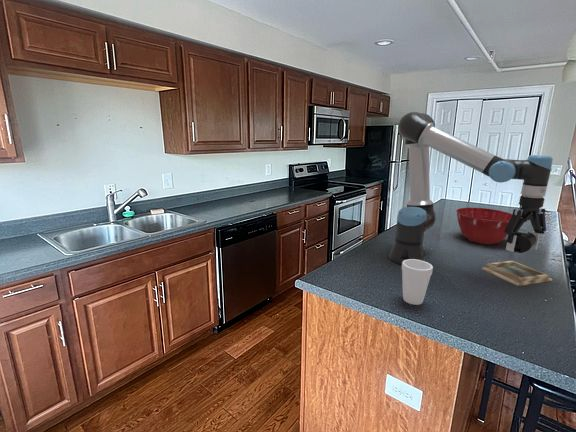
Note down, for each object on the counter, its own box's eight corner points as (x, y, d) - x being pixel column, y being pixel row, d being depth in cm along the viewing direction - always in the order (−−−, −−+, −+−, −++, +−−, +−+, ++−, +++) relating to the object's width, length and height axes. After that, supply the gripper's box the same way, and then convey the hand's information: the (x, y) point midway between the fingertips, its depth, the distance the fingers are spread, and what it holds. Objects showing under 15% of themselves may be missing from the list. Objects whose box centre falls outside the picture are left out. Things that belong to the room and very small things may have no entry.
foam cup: (420, 293, 113) (425, 259, 110) (432, 307, 104) (438, 270, 101) (394, 293, 112) (398, 259, 109) (404, 307, 104) (408, 270, 100)
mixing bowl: (508, 254, 153) (515, 223, 150) (445, 240, 171) (450, 213, 168) (515, 240, 174) (521, 213, 170) (459, 229, 192) (463, 205, 188)
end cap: (529, 255, 121) (532, 238, 120) (507, 250, 126) (510, 234, 125) (534, 249, 128) (537, 233, 126) (513, 245, 133) (516, 229, 131)
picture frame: (517, 286, 120) (518, 280, 119) (481, 269, 135) (482, 263, 134) (552, 280, 125) (553, 275, 124) (513, 265, 140) (515, 259, 139)
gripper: (518, 199, 115) (507, 255, 120) (565, 196, 122) (553, 250, 127) (499, 195, 122) (489, 248, 127) (545, 193, 129) (534, 244, 134)
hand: (521, 249), depth 127 cm, fingers closed on end cap, 12 cm apart
